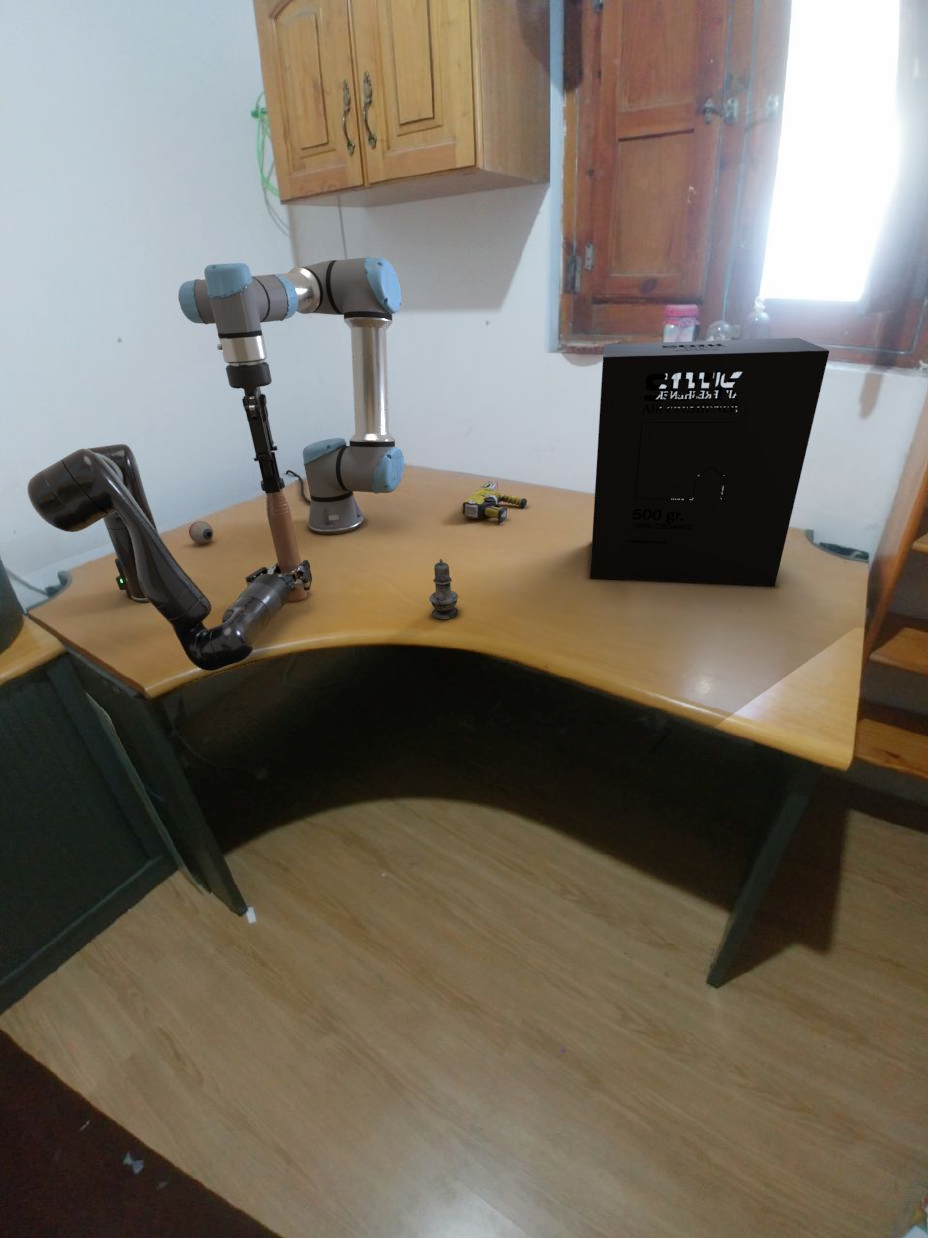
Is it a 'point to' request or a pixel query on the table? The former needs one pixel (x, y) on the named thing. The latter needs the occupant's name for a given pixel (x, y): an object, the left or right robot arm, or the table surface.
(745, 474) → the cardboard box
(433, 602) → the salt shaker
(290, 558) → the bottle
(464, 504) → the toy gun
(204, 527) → the eyeball
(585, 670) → the table surface
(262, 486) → the cap
